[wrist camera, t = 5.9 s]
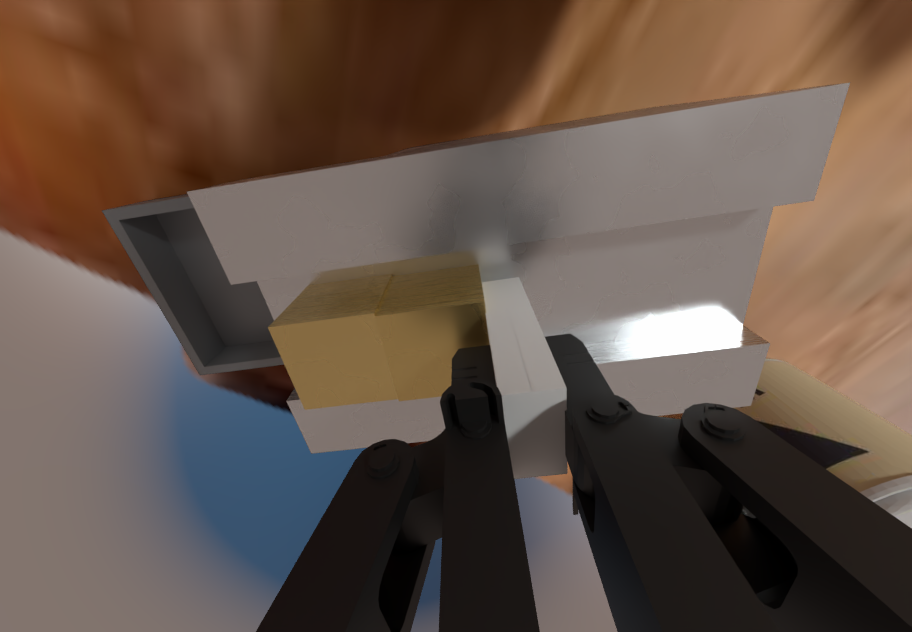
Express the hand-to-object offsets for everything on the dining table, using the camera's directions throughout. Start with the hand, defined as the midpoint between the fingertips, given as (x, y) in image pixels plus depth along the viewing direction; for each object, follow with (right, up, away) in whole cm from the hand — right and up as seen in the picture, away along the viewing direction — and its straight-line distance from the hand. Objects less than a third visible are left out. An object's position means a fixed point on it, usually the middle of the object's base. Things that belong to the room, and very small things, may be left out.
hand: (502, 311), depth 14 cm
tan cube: (-2, 0, +1) cm, 3 cm away
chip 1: (-6, 0, +1) cm, 6 cm away
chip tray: (-14, +3, +10) cm, 17 cm away
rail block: (0, +5, +9) cm, 10 cm away
